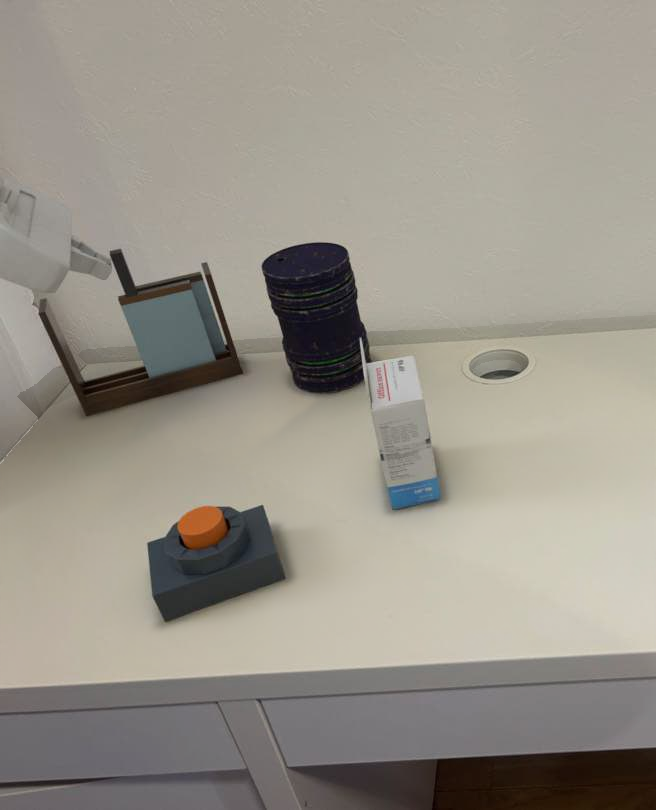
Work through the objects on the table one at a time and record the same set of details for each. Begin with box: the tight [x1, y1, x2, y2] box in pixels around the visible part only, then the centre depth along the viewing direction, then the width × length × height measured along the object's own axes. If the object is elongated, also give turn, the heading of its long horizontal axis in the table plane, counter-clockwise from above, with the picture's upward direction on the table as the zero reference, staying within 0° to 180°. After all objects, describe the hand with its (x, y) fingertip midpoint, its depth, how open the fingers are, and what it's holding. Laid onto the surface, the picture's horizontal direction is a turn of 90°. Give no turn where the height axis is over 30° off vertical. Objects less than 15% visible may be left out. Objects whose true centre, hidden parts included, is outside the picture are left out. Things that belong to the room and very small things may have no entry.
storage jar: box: [260, 241, 373, 395], centre depth 94 cm, size 10×10×15 cm
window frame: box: [37, 261, 244, 417], centre depth 94 cm, size 18×4×14 cm, turn 116°
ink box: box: [360, 337, 441, 510], centre depth 75 cm, size 8×5×15 cm, turn 14°
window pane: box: [109, 248, 216, 378], centre depth 92 cm, size 8×1×16 cm, turn 116°
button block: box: [146, 504, 287, 623], centre depth 69 cm, size 10×7×5 cm
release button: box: [177, 505, 228, 549], centre depth 67 cm, size 4×4×2 cm
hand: (109, 270), depth 88 cm, fingers closed, pressing on window pane
